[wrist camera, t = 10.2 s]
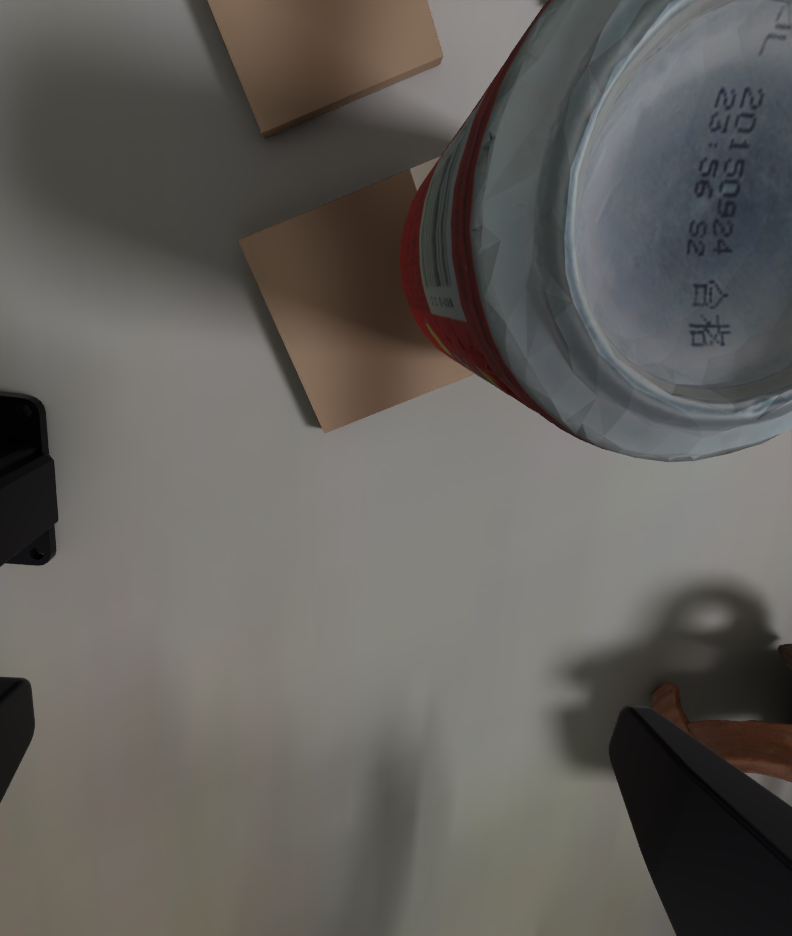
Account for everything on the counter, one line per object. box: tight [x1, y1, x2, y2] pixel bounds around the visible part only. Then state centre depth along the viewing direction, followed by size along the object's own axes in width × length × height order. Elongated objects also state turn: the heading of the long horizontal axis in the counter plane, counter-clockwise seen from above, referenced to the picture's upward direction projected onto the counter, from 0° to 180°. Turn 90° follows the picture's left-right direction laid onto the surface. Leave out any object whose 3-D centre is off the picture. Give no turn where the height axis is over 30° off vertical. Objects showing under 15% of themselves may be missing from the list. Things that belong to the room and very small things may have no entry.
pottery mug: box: [651, 644, 792, 782], centre depth 23 cm, size 12×10×8 cm
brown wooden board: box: [238, 156, 474, 433], centre depth 18 cm, size 16×7×1 cm, turn 111°
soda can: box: [400, 0, 792, 462], centre depth 12 cm, size 7×7×12 cm
